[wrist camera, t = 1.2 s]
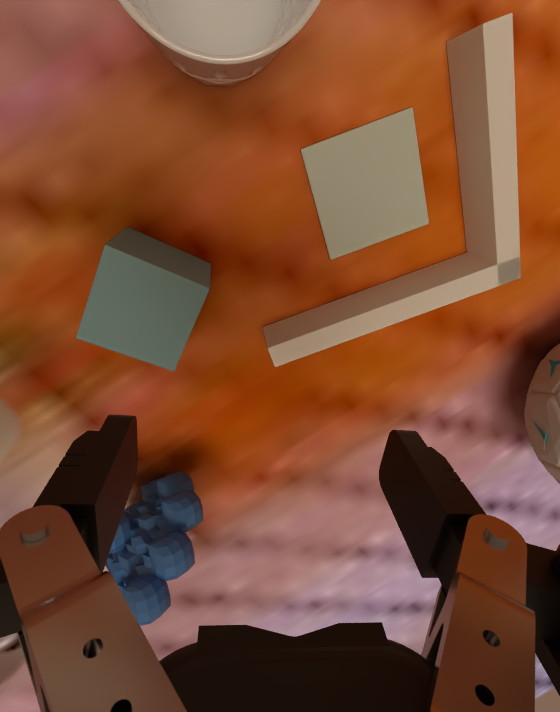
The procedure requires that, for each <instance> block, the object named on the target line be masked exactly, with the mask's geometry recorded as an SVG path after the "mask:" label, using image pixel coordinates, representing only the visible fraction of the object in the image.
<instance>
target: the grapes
mask: <svg viewBox="0 0 560 712" xmlns="http://www.w3.org/2000/svg"><path fill="white" fill-rule="evenodd" d="M141 495H142V500H143V502H141V503H137V504H133V505H131V506H129V507H128V508H126V509H124V511H123V514H122V517H121V520H120V523H119V526H118V529H117V532H116V535H115V538H114V541H113V544H112V546H111V549H110V552H109V555H108V558H107V561H106V564H105V565H106V567H107V569H108V571H109V573H110V574H111V576H112V577H113V579H114V581H115V582H116V584H117V586H118V588H119V590H120V591H121V593H122V595H123V597H124V599H125V600H126V602H127V604H128V606H129V608H130V609H131V611H132V613H133V615H134V617H135V619H136V620H137V622H138V624H139V625H140V626H141V625H146V624H150V623H152V622H153V621H155V620H156V619H158V618H159V617H160V616H161V615H162V614H163V613H164V612H165V611H166V610H167V609H168V608H169V607H170V605H171V600H170V593H169V589H168V585H167V582H166V581H168V580H173V579H177V578H178V577H180V576H181V575H183V574H184V573H185V572H187V571H188V570H189V569H190V568H191V567H192V566H193V565H194V564H195V559H194V550H193V546H192V542H191V540H190V539H189V537H188V536H187V534H186V533H184V532H188V531H190V530H191V529H193V528H194V527H196V526H197V525H199V524H200V523H201V522H202V521H203V508H202V504H201V500H200V498H199V497H198V496H197V495H196V493H195V492H194V486H193V482H192V479H191V478H190V477H189V475H188V474H186V473H183V472H175V473H171V474H168V475H167V476H165V477H163V478H158V479H154V480H152V481H150V482H148V483H146V484H145V485H143V486H141ZM165 580H166V581H165Z"/></svg>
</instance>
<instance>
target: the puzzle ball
mask: <svg viewBox="0 0 560 712" xmlns="http://www.w3.org/2000/svg"><path fill="white" fill-rule="evenodd" d="M524 417H525V427H526V430H527V432H528V435H529V438H530V441H531V444H532V447H533V449H534V451H535V453H536V455H537V457H538V459H539V460H540V462H541V463H542V464H543V465H544V467H545V468H546V469H547V471H548V472H549V473H550V474H551V475H552V476H553V477H554V478H555V480H556V481H557V482H558V483H559V484H560V344H558V345H557V346H555V347H554V348H553V349H551V350H550V351H549V352H548V354H547V355H546V357H545V358H544V359H543V360H541V361H540V363H539V365H538V367H537V369H536V371H535V374H534V376H533V379H532V381H531V383H530V386H529V389H528V393H527V398H526V404H525V410H524Z"/></svg>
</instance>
